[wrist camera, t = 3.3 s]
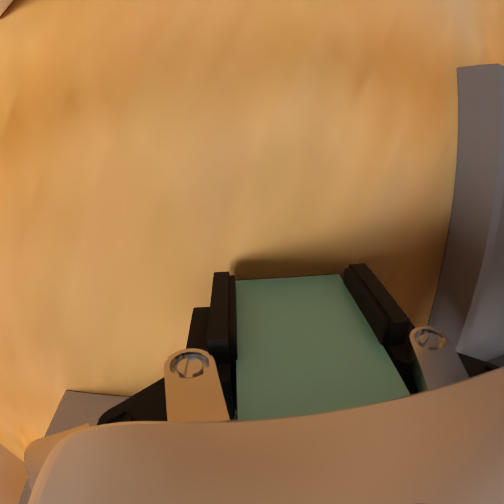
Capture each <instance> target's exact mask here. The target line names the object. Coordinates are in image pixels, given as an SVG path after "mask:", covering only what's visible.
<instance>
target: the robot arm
mask: <svg viewBox="0 0 504 504" xmlns="http://www.w3.org/2000/svg"><path fill="white" fill-rule="evenodd" d="M343 283H344V284H345V286H346V288H347V289H348V291H349V292H350V294H351V296H352V297H353V299H354V301H355V302H356V304H357V305H358V307H359V309H360V310H361V312H362V314H363V315H364V317H365V319H366V320H367V322H368V324H369V325H370V327H371V329H372V330H373V332H374V334H375V336H376V337H377V339H378V341H379V342H380V344H381V345H383V347H384V349H385V350H386V352H387V354H388V355H389V357H390V359H391V361H392V362H393V364H394V366H395V368H396V369H397V371H398V373H399V375H400V377H401V378H402V380H403V382H404V384H405V386H406V387H407V389H408V391H409V393H410V395H407V396H403V397H398V398H394V399H390V400H385V401H380V402H375V403H370V404H365V405H360V406H355V407H349V408H343V409H337V410H330V411H323V412H316V413H308V414H300V415H292V416H282V417H271V418H258V419H242V420H232V419H236V410H237V378H236V360H238V354H237V312H236V281H235V275H230V276H229V272H214V277H213V286H212V295H211V304H210V307H197V308H194V309H193V314H192V319H191V324H190V330H189V335H188V341H187V347H186V349H184V350H180V351H177V352H175V353H173V354H172V355H171V356H170V357H168V359H167V360H166V362H165V365H164V378H162V379H161V380H159V381H157V382H156V383H154V384H152V385H150V386H149V387H147V388H145V389H144V390H142V391H140V392H138V393H137V394H135V395H133V396H132V397H130V398H128V399H126V400H125V401H123V402H121V403H119V404H118V405H116V406H114V407H112V408H110V409H109V410H107V411H106V412H105V413H103V414H102V415H101V417H100V418H99V420H98V423H97V424H96V425H93V426H90V425H89V423H87V424H84V425H81V426H78V427H75V428H72V429H69V430H66V431H63V432H60V433H57V434H54V435H50V436H47V437H44V438H40V439H37V440H35V441H33V442H32V443H31V444H30V445H29V446H28V447H27V448H26V451H25V453H24V460H25V465H26V470H27V474H28V480H29V484H30V488H31V495H30V498H29V501H28V504H504V367H501V368H500V367H499V366H497V365H494V364H492V363H489V362H486V361H483V360H479V359H476V358H473V357H470V356H467V355H464V354H461V353H458V352H456V350H455V348H454V346H453V344H452V342H451V340H450V339H449V337H448V336H447V334H446V333H444V332H443V331H442V330H440V329H438V328H435V327H431V326H420V327H417V328H415V327H414V326H413V324H412V323H411V322H410V319H409V318H408V317H407V315H406V314H405V313H404V311H403V310H402V309H401V308H400V306H399V305H398V304H397V303H396V301H395V300H394V299H393V297H392V296H391V295H390V294H389V292H388V291H387V290H386V289H385V288H384V286H383V285H382V284H381V283H380V281H379V280H378V279H377V278H376V276H375V275H374V274H373V273H372V272H371V270H370V269H369V268H368V267H367V266H366V264H364V263H363V264H350V265H349V268H346V269H345V271H344V279H343Z"/></svg>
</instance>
